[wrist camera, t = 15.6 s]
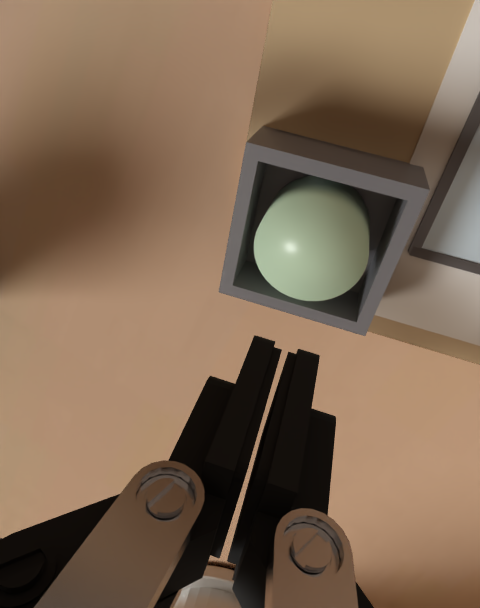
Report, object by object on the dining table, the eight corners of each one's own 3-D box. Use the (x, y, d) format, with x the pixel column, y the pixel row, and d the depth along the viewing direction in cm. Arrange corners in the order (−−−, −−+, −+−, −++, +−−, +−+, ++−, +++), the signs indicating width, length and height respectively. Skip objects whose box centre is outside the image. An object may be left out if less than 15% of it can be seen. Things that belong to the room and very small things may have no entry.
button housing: (366, 301, 20) (365, 336, 17) (235, 262, 20) (218, 292, 18) (422, 166, 16) (429, 190, 14) (262, 125, 17) (246, 142, 15)
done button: (350, 282, 19) (347, 313, 17) (258, 255, 19) (244, 283, 17) (385, 190, 16) (387, 215, 14) (279, 163, 17) (267, 183, 15)
